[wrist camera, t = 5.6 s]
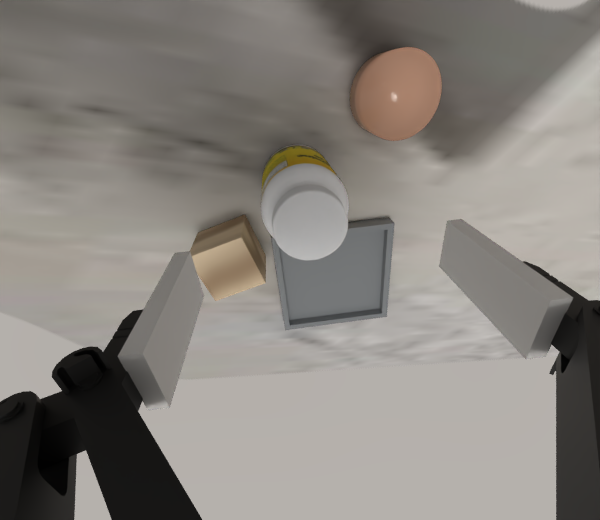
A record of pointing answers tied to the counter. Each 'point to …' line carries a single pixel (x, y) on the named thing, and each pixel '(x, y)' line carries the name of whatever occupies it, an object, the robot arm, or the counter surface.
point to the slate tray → (338, 278)
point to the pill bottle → (303, 203)
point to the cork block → (229, 258)
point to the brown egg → (396, 93)
